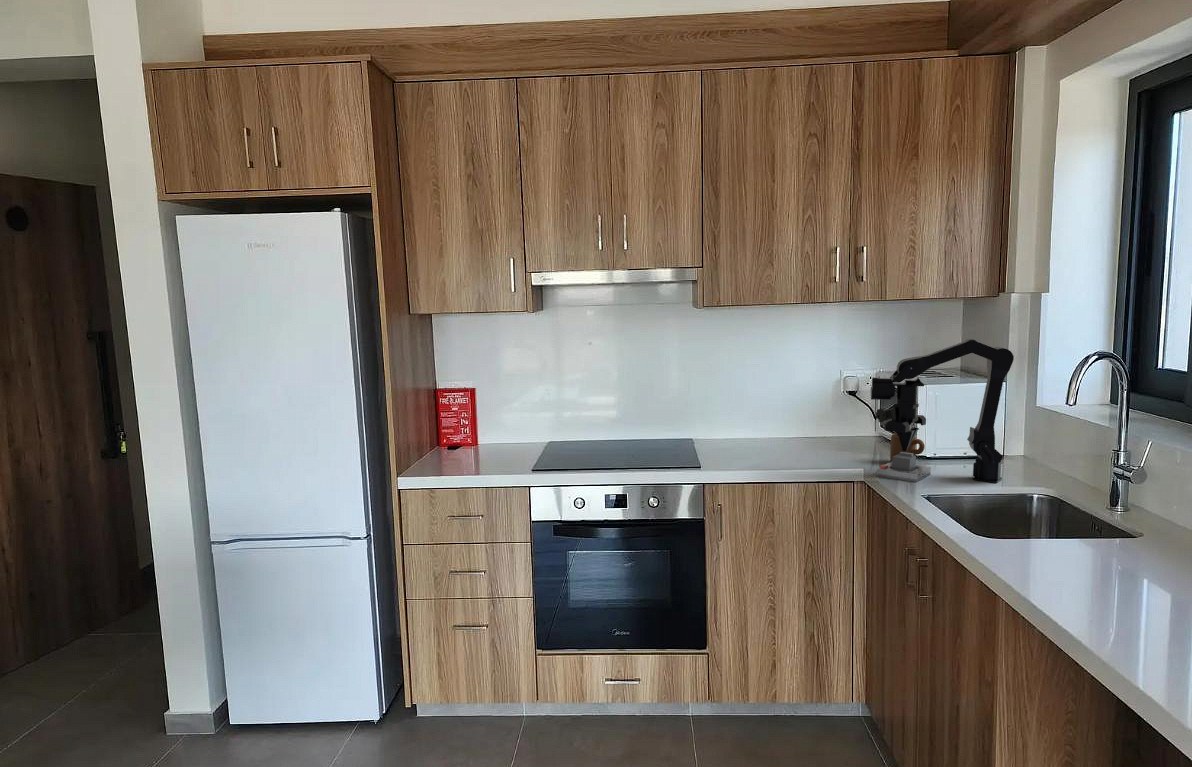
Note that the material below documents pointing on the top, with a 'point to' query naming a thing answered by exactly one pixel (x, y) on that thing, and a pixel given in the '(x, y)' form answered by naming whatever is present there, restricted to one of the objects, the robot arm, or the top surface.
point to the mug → (897, 448)
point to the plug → (904, 461)
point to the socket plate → (904, 473)
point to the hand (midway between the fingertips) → (904, 450)
